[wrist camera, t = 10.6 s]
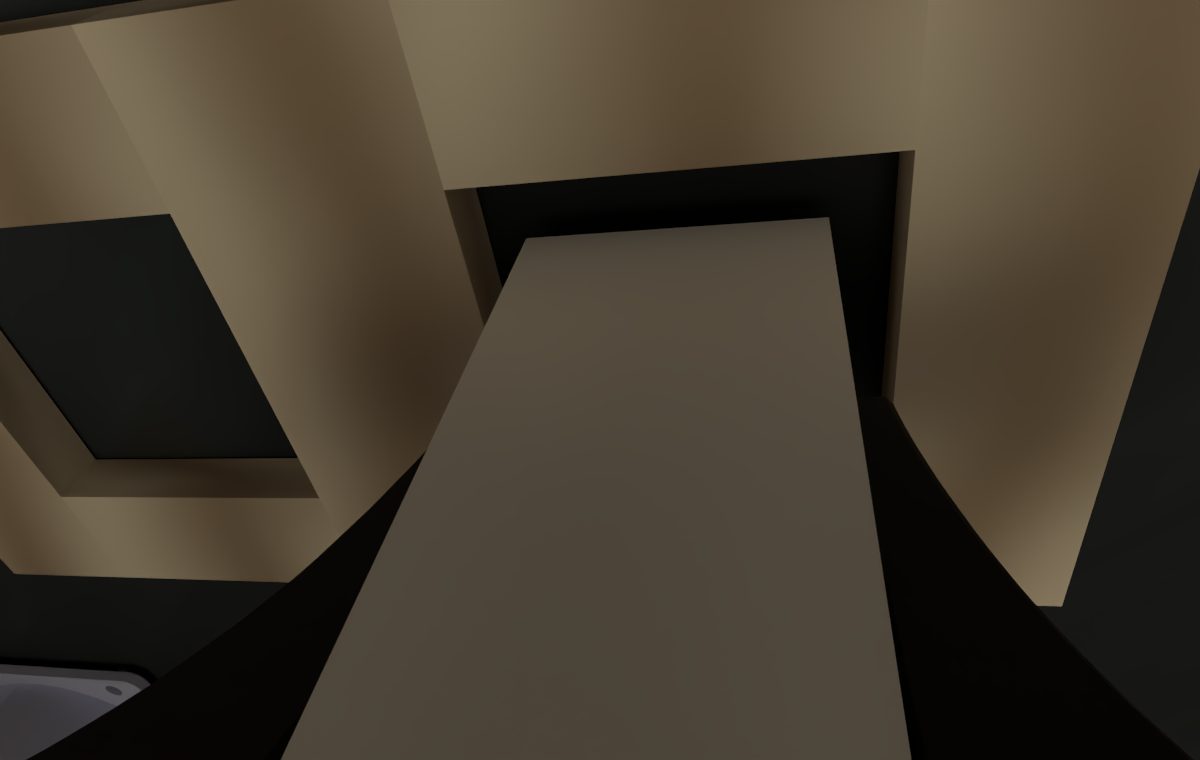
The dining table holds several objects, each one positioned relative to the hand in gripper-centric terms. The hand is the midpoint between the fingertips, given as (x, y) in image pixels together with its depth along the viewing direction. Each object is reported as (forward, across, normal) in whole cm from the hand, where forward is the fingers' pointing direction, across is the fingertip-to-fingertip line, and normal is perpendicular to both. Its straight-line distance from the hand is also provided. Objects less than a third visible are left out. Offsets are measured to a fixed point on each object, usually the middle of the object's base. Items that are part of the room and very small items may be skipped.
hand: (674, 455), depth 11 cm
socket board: (+3, +6, 0) cm, 6 cm away
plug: (+2, 0, 0) cm, 2 cm away
